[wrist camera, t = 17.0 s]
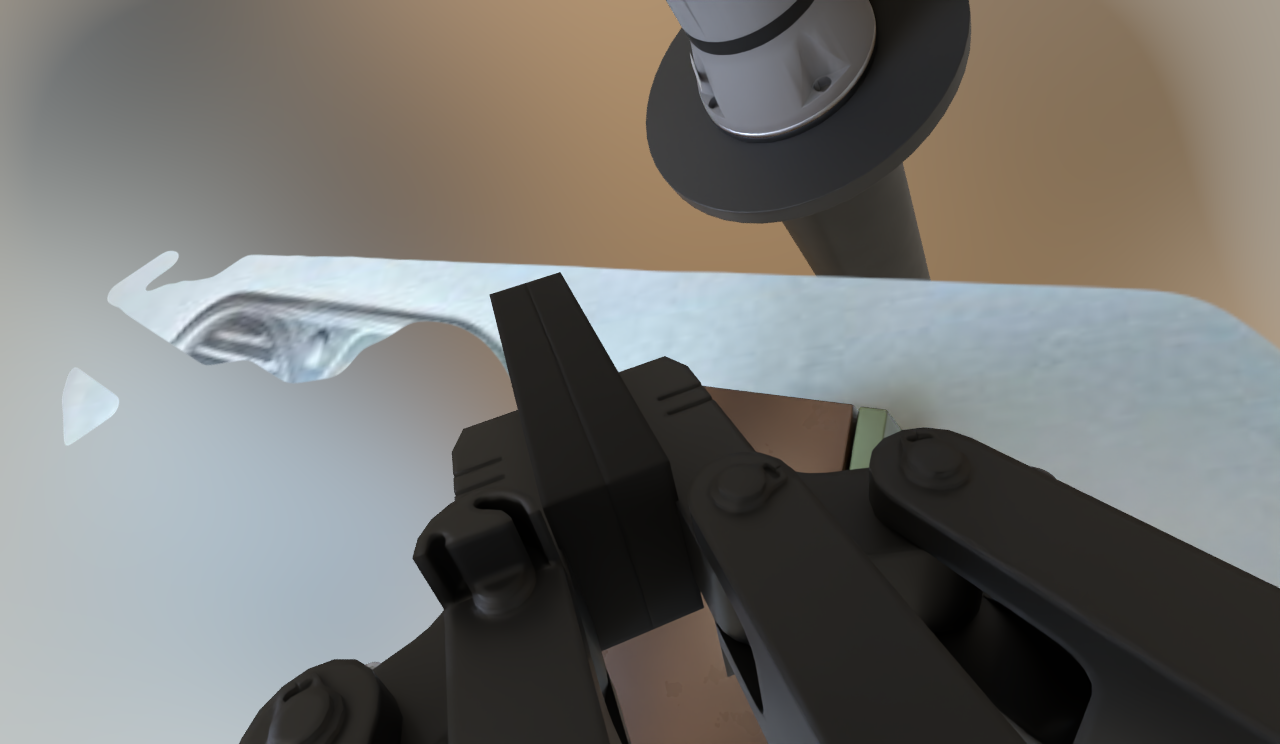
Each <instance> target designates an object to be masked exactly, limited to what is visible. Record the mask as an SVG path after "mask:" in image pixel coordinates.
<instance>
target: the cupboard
mask: <svg viewBox="0 0 1280 744" xmlns="http://www.w3.org/2000/svg"><path fill="white" fill-rule="evenodd" d="M704 387H705V389H706V390H707V391H708V392H709V394H710V395H711V397H712V399H713V400H715V401H716V402H717V404H718V405H719V406H720V407H721V409H722V410H723V411H724V412H725V413H726V415H727V416H728V417H729V418H730V420H731V421H732V422H733V423H734V425H735V426H736V427H737V428H738V430H739V431H740V432H741V433H742V435H743V436H744V437H745V438H746V440H747V441H748V442H749V443H750V445H751V446H752V447H753V448H754V450H755V451H756V452H760V453H763V454H766V455H770V456H773V457H776V458H779V459H780V460H782V461H783V462H784V463H786V464H787V465H788V466H789V467H791V468H792V469H793V470H794V471H796V472H803V473H828V472H836V471H844V470H849V469H850V463H851V456H852V450H853V444H854V438H855V432H856V426H857V420H858V413H859V412H858V410H857V409H856V408H855V407H854V406H853V405H851V404H843V403H835V402H827V401H819V400H811V399H803V398H795V397H787V396H779V395H771V394H763V393H755V392H747V391H739V390H731V389H723V388H715V387H707V386H704ZM700 592H701V591H700ZM701 596H702V600H703V605H704V608H703V609H700V610H698V611H696V612H693V613H691V614H689V615H686V616H684V617H682V618H679V619H677V620H675V621H672V622H670V623H668V624H665V625H663V626H660V627H658V628H656V629H653V630H651V631H649V632H646V633H644V634H642V635H639V636H637V637H635V638H632V639H630V640H627V641H625V642H623V643H620V644H618V645H616V646H613V647H611V648H609V649H606V650H604V651H602V655H603V658H604V662H605V665H606V669H607V671H608V673H609V676H610V678H611V681H612V683H613V685H614V688H615V690H616V693H617V697H618V700H619V704H620V707H621V710H622V714H623V717H624V721H625V724H626V727H627V731H628V734H629V738H630V741H631V744H768V742H767V740H766V738H765V736H764V734H763V732H762V730H761V728H760V726H759V724H758V721H757V719H756V717H755V715H754V713H753V711H752V709H751V707H750V705H749V703H748V701H747V699H746V697H745V695H744V692H743V690H742V688H741V686H740V684H739V682H738V680H737V678H736V676H735V674H734V675H732V676H730V677H728V676H727V672H726V668H725V664H724V660H723V656H722V651H721V647H720V642H719V638H718V634H717V629H716V625H715V620H714V617H713V615H712V613H711V611H710V609H709V607H708V605H707V603H706V601H705V599H704V597H703V595H702V593H701Z"/></svg>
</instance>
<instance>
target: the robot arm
mask: <svg viewBox="0 0 1280 744" xmlns="http://www.w3.org/2000/svg"><path fill="white" fill-rule="evenodd" d="M666 1H667V3H668V4H669V6H670V7H671V9H672V11H673V13H674V15H675V16H676V18H677V19H678V21H679V23H680V25H681V26H682V28H683V29H684V31H685V33H686V34H687V36H688V38H689V40H690V42H691V46H692V52H693V58H694V62H693V60H692V57H691V62H692V66H693V69H694V71H695V74H696V77H697V83H698V89H699V93H700V96H701V99H702V102H703V104H704V107H705V109H706V111H707V113H708V114H709V116H710V117H711V119H712V120H713V122H714V123H715V125H716V126H717V127H718V128H719V129H720V130H721V131H722V132H724V133H725V134H726V135H728V136H730V137H732V138H734V139H737V140H740V141H744V142H751V143H768V142H775V141H780V140H784V139H788V138H791V137H794V136H796V135H799V134H801V133H804V132H806V131H808V130H810V129H812V128H813V127H815V126H817V125H818V124H820V123H822V122H823V121H825V120H826V119H828V118H829V117H830V116H832V115H833V114H834V113H835V112H837V111H838V110H839V109H840V108H841V107H842V106H843V105H844V104H845V103H846V102H847V101H848V100H849V99H850V98H851V97H852V96H853V94H854V93H855V92H856V91H857V90H858V88H859V87H860V85H861V84H862V82H863V81H864V79H865V77H866V76H867V74H868V72H869V70H870V68H871V65H872V63H873V60H874V57H875V53H876V49H877V42H878V32H877V25H876V21H875V16H874V13H873V9H872V7H871V4H870V2H869V0H666ZM690 56H691V54H690ZM694 64H695V65H694ZM490 298H491V302H492V306H493V311H494V315H495V319H496V323H497V327H498V331H499V335H500V339H501V343H502V347H503V351H504V355H505V359H506V363H507V367H508V371H509V375H510V379H511V383H512V387H513V391H514V396H515V399H516V403H517V407H518V410H516V411H513V412H511V413H508V414H505V415H502V416H500V417H496V418H493V419H491V420H488V421H485V422H482V423H479V424H476V425H474V426H471V427H468V428H465V429H463V431H462V433H461V435H460V437H459V439H458V441H457V443H456V445H455V447H454V449H453V451H452V461H453V474H454V492H455V495H456V497H455V501H454V502H453V503H451V504H450V505H448V506H447V507H446V508H445V509H443V510H442V511H441V512H440V513H439V514H437V515H436V516H435V517H434V518H433V519H431V521H430V522H429V523H428V525H427V526H426V528H425V529H424V531H423V532H422V534H421V535H420V536H419V538H418V540H417V543H416V547H415V551H414V555H413V560H414V561H415V563H416V564H417V566H418V568H419V570H420V571H421V573H422V574H423V576H424V578H425V579H426V581H427V583H428V584H429V586H430V587H431V589H432V591H433V592H434V594H435V595H436V597H437V599H438V600H439V602H440V603H441V605H442V607H443V608H444V611H443V612H442V613H441V615H440V616H439V617H438V618H437V619H436V620H435V621H434V623H433V624H432V625H431V626H430V627H429V628H428V629H427V630H425V631H424V632H423V633H422V634H421V635H419V636H418V637H417V638H416V639H415V640H413V641H412V642H411V643H409V644H408V645H407V646H405V647H404V648H402V649H401V650H400V651H398V652H397V653H395V654H394V655H392V656H391V657H390V658H388V659H387V660H385V661H384V662H382V663H381V664H380V665H378V666H377V667H375V668H374V669H371V668H369V667H368V666H366V665H364V664H363V663H361V662H359V661H358V660H355V659H354V660H353V659H350V660H348V659H347V660H346V659H345V660H344V659H342V660H341V659H339V660H338V659H336V660H335V659H334V660H331V661H329V662H326V663H323V664H321V665H318V666H315V667H312V668H310V669H308V670H306V671H305V672H303V673H302V674H300V675H299V676H297V677H296V678H294V679H293V680H292V681H290V682H288V683H287V684H286V685H284V686H283V687H282V688H281V689H280V690H279V691H278V692H277V693H276V694H275V695H274V696H273V697H272V698H271V699H270V700H269V701H268V702H267V703H266V704H265V705H264V706H263V707H262V708H261V709H260V710H259V712H258V713H257V715H256V717H255V718H254V720H253V721H252V723H251V725H250V726H249V728H248V729H247V731H246V732H245V734H244V736H243V737H242V739H241V741H240V743H239V744H631V741H630V738H629V734H628V731H627V727H626V724H625V721H624V717H623V714H622V710H621V707H620V704H619V700H618V697H617V693H616V690H615V688H614V685H613V683H612V681H611V678H610V676H609V673H608V671H607V669H606V665H605V662H604V658H603V655H602V651H604V650H606V649H609V648H611V647H613V646H616V645H618V644H620V643H623V642H625V641H627V640H630V639H632V638H635V637H637V636H639V635H642V634H644V633H646V632H649V631H651V630H653V629H656V628H658V627H660V626H663V625H665V624H668V623H670V622H672V621H675V620H677V619H679V618H682V617H684V616H686V615H689V614H691V613H693V612H696V611H698V610H700V609H703V608H704V605H703V600H702V596H701V593H702V595H703V597H704V599H705V601H706V603H707V605H708V607H709V609H710V611H711V613H712V615H713V617H714V620H715V625H716V629H717V634H718V638H719V642H720V647H721V651H722V656H723V660H724V664H725V668H726V672H727V676H728V677H730V676H732V675H734V674H735V676H736V678H737V680H738V682H739V684H740V686H741V688H742V690H743V692H744V695H745V697H746V699H747V701H748V703H749V705H750V707H751V709H752V711H753V713H754V715H755V717H756V719H757V721H758V724H759V726H760V728H761V730H762V732H763V734H764V736H765V738H766V740H767V742H768V744H1280V588H1278V587H1276V586H1274V585H1272V584H1270V583H1268V582H1266V581H1264V580H1262V579H1259V578H1257V577H1255V576H1253V575H1251V574H1249V573H1247V572H1245V571H1243V570H1241V569H1239V568H1237V567H1235V566H1233V565H1231V564H1229V563H1227V562H1225V561H1223V560H1221V559H1218V558H1216V557H1214V556H1212V555H1210V554H1208V553H1206V552H1204V551H1202V550H1200V549H1198V548H1196V547H1194V546H1192V545H1190V544H1188V543H1186V542H1184V541H1182V540H1180V539H1177V538H1175V537H1173V536H1171V535H1169V534H1167V533H1165V532H1163V531H1161V530H1159V529H1157V528H1155V527H1153V526H1151V525H1149V524H1147V523H1145V522H1143V521H1141V520H1139V519H1136V518H1134V517H1132V516H1130V515H1128V514H1126V513H1124V512H1122V511H1120V510H1118V509H1116V508H1114V507H1112V506H1110V505H1108V504H1106V503H1104V502H1102V501H1100V500H1098V499H1095V498H1093V497H1091V496H1089V495H1087V494H1085V493H1083V492H1081V491H1079V490H1077V489H1075V488H1073V487H1071V486H1069V485H1067V484H1065V483H1063V482H1061V481H1059V480H1057V479H1055V478H1052V477H1050V476H1048V475H1046V474H1044V473H1042V472H1040V471H1038V470H1036V469H1034V468H1032V467H1030V466H1028V465H1026V464H1024V463H1022V462H1020V461H1018V460H1016V459H1014V458H1011V457H1009V456H1007V455H1005V454H1003V453H1001V452H999V451H997V450H995V449H993V448H991V447H989V446H987V445H985V444H983V443H981V442H979V441H977V440H975V439H973V438H970V437H967V436H964V435H961V434H958V433H955V432H953V431H950V430H943V429H933V428H916V429H909V430H901V431H899V432H897V433H894V434H892V435H890V436H888V437H885V438H883V439H882V440H881V441H880V442H879V444H878V445H877V446H876V447H875V448H874V449H873V450H872V453H871V458H870V463H869V467H868V468H860V469H852V470H844V471H836V472H828V473H803V472H796V471H794V470H793V469H792V468H791V467H789V466H788V465H787V464H786V463H784V462H783V461H782V460H780V459H779V458H776V457H773V456H770V455H766V454H763V453H760V452H756V451H755V450H754V448H753V447H752V446H751V445H750V443H749V442H748V441H747V440H746V438H745V437H744V436H743V435H742V433H741V432H740V431H739V430H738V428H737V427H736V426H735V425H734V423H733V422H732V421H731V420H730V418H729V417H728V416H727V415H726V413H725V412H724V411H723V410H722V409H721V407H720V406H719V405H718V404H717V402H716V401H715V400H713V399H712V397H711V395H710V394H709V392H708V391H707V390H706V389H705V387H704V386H702V385H701V382H700V381H699V380H698V379H697V377H696V376H695V375H694V374H693V372H692V371H691V370H690V369H689V367H688V366H686V365H684V364H681V363H679V362H677V361H675V360H672V359H670V358H668V357H666V356H664V357H661V358H658V359H656V360H653V361H650V362H647V363H644V364H641V365H638V366H636V367H633V368H630V369H627V370H624V371H621V372H618V371H617V369H616V367H615V366H614V364H613V362H612V360H611V359H610V357H609V355H608V354H607V352H606V350H605V348H604V347H603V345H602V343H601V342H600V340H599V338H598V336H597V335H596V333H595V331H594V329H593V328H592V326H591V324H590V323H589V321H588V319H587V317H586V316H585V314H584V312H583V310H582V309H581V307H580V305H579V304H578V302H577V300H576V298H575V297H574V295H573V293H572V291H571V290H570V288H569V286H568V285H567V283H566V281H565V279H564V278H563V276H562V274H561V272H559V273H556V274H553V275H550V276H547V277H544V278H540V279H537V280H534V281H531V282H528V283H525V284H521V285H518V286H515V287H512V288H509V289H506V290H503V291H499V292H496V293H493V294H490ZM700 591H701V592H700Z"/></svg>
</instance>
